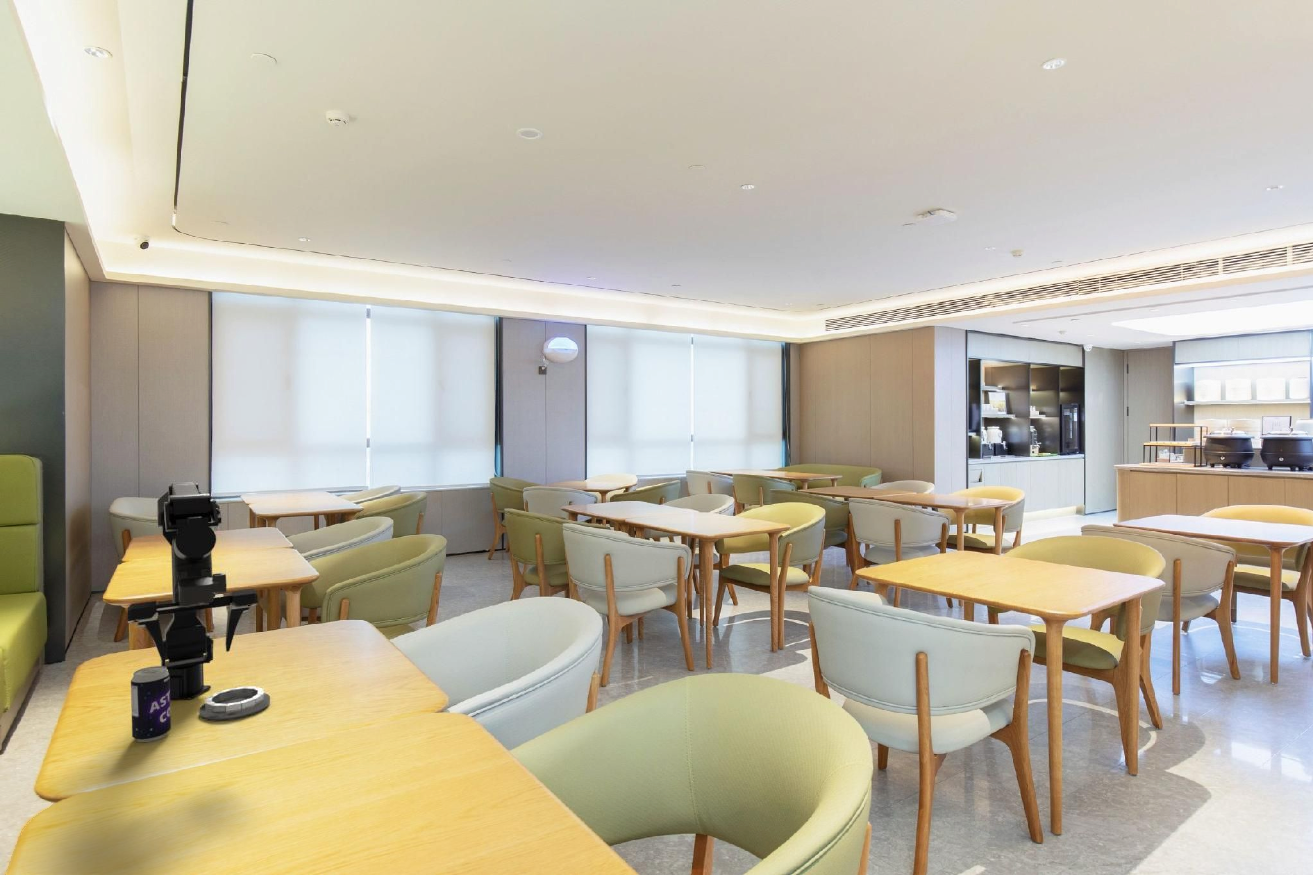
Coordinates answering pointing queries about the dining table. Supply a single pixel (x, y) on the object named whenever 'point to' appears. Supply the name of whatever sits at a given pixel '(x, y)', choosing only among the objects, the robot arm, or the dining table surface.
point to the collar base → (236, 714)
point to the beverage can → (150, 703)
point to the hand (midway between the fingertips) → (196, 656)
